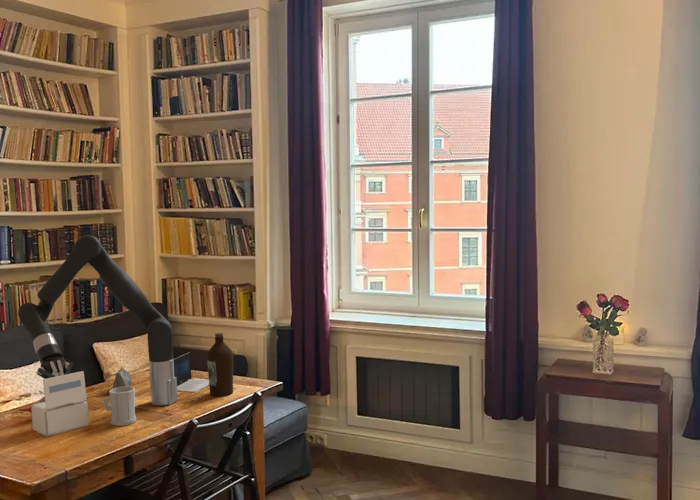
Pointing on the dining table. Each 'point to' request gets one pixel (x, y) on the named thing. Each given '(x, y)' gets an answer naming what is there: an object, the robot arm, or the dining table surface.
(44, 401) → the decorative bird figurine
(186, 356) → the laptop
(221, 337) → the brown bottle
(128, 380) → the mineral rock
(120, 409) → the cup
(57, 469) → the dining table surface
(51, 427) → the carton
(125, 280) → the robot arm
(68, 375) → the flap
